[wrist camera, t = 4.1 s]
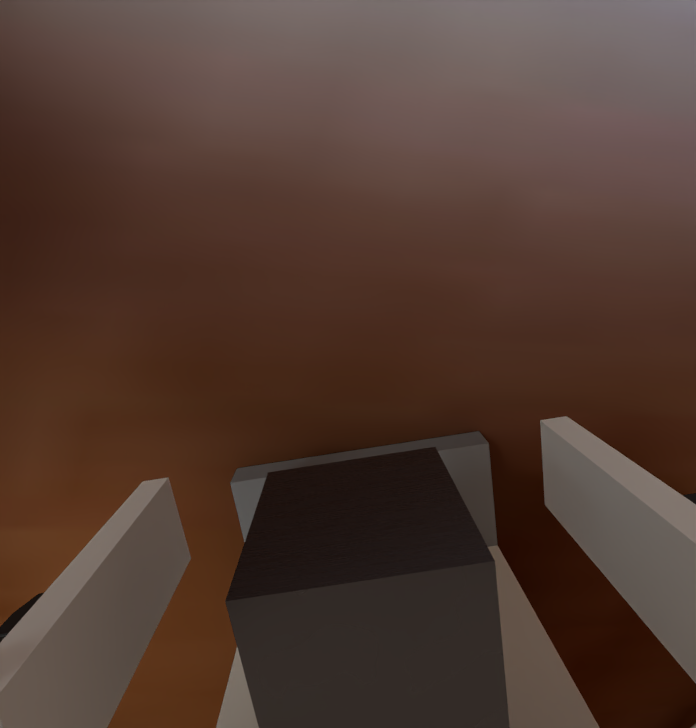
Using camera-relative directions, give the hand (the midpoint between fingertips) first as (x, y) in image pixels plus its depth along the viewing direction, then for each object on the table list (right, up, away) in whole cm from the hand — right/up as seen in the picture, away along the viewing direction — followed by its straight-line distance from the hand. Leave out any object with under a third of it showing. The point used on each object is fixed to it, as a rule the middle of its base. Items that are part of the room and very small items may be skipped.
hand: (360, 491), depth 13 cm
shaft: (+1, -8, 0) cm, 8 cm away
